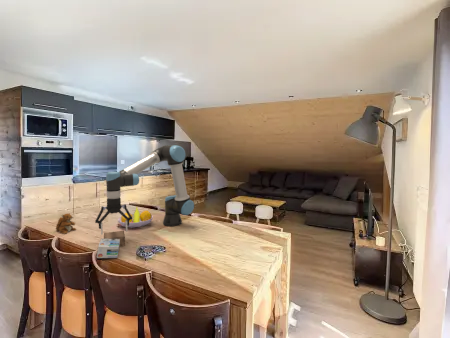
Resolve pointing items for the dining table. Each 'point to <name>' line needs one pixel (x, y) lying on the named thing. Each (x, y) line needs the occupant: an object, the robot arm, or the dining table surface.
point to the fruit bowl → (137, 219)
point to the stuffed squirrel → (65, 224)
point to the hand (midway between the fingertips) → (114, 232)
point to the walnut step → (116, 236)
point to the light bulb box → (108, 248)
